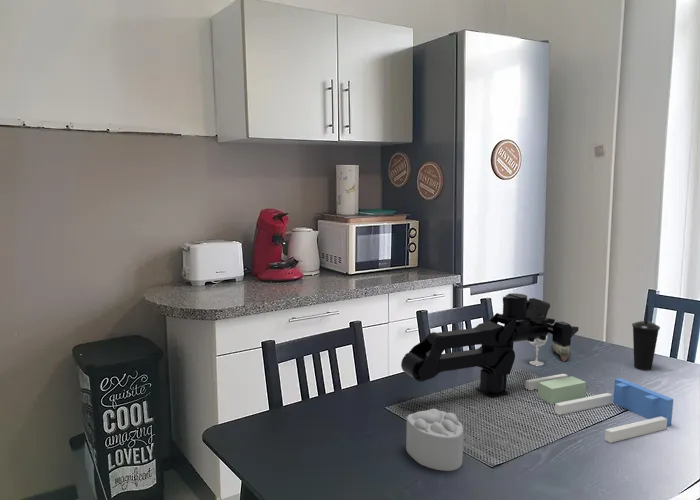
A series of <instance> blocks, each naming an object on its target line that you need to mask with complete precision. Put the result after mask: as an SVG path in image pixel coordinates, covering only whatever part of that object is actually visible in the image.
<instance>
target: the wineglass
mask: <svg viewBox="0 0 700 500" xmlns="http://www.w3.org/2000/svg"><path fill="white" fill-rule="evenodd" d="M528 342H529V343H530V344H531V346H534V347H535V353H536V354H535V356H536V357H535V359H534V360H531V361H529V364H530V365H533V366H539V367H541V366H544V365H545V363H544V362H543V361H539V359H538V357H539V352H540V351H539V350H540V349H539V347H541V348H542V347H543V346H545V345H547V342H548V334H547V335H546V340H541V339H534V342H530V341H528Z"/></svg>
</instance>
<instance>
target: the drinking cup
mask: <svg viewBox="0 0 700 500" xmlns="http://www.w3.org/2000/svg"><path fill="white" fill-rule="evenodd" d="M648 318H649V305H647V304H646V305H645V318H644V320H640V321H636V322H633V323H631V327H632V334H633V335H632V336H633V337H632V339H633V340H632V341H633V367H634V368H635V369H637V370H640V371H651V370H652V368H653V363H654V358H655V353H656V347H657V342H658V341H657V340H658V335H659V331H660V328H661V327H660V325H657V324H656V323H653V322H652V321H649V319H648Z"/></svg>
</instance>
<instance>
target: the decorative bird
mask: <svg viewBox="0 0 700 500" xmlns="http://www.w3.org/2000/svg"><path fill="white" fill-rule="evenodd" d="M570 346H571V345H570ZM570 346H568V347H562V346H559V345H557V344H554V342H553V341H552V345H551V347H552V348H553V350H554V352H555V353H556V354H558V355H559V356H560V359H561V360H562V362H566V361H567V360H568V358H569V355H570V353H571V352H570V350H571V349H570V348H571V347H570Z"/></svg>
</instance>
